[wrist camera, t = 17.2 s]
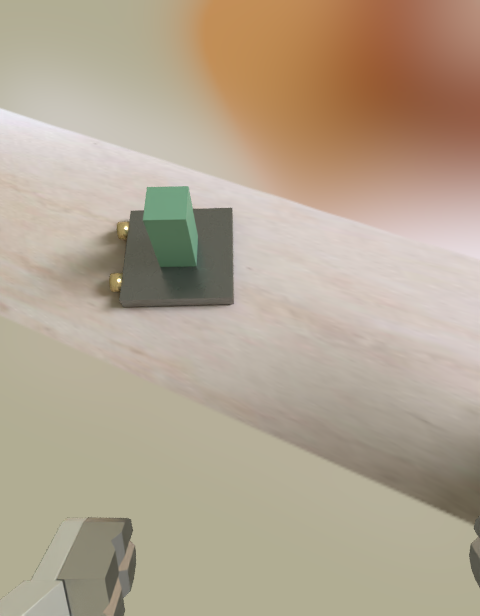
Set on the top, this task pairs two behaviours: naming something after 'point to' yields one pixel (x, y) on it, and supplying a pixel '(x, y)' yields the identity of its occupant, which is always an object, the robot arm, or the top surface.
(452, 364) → the top surface
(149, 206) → the block
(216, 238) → the level base plate
